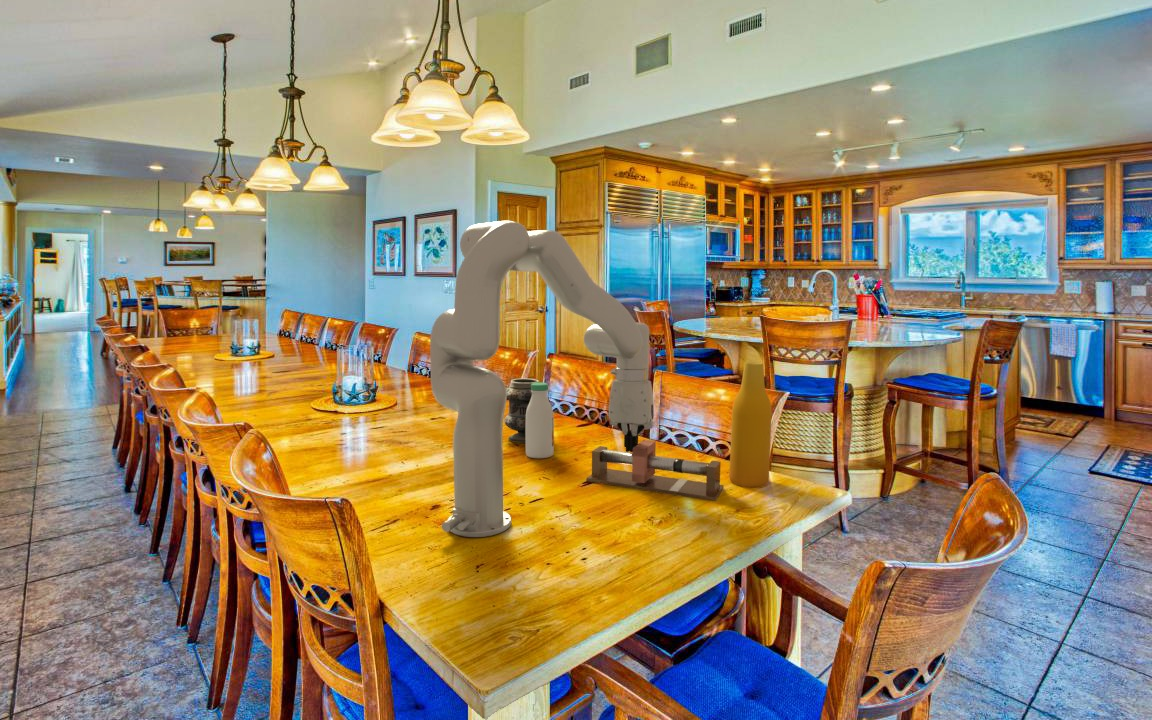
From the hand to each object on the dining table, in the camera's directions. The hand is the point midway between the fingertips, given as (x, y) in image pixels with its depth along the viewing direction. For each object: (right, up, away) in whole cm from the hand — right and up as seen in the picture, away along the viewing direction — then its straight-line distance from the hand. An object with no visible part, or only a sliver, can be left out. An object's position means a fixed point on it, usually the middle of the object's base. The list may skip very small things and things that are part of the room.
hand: (631, 450), depth 151 cm
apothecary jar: (-29, -2, +39) cm, 49 cm away
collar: (+3, -6, -1) cm, 7 cm away
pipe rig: (+5, -8, -1) cm, 10 cm away
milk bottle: (-23, -5, +22) cm, 33 cm away
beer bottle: (+29, -8, +1) cm, 30 cm away
